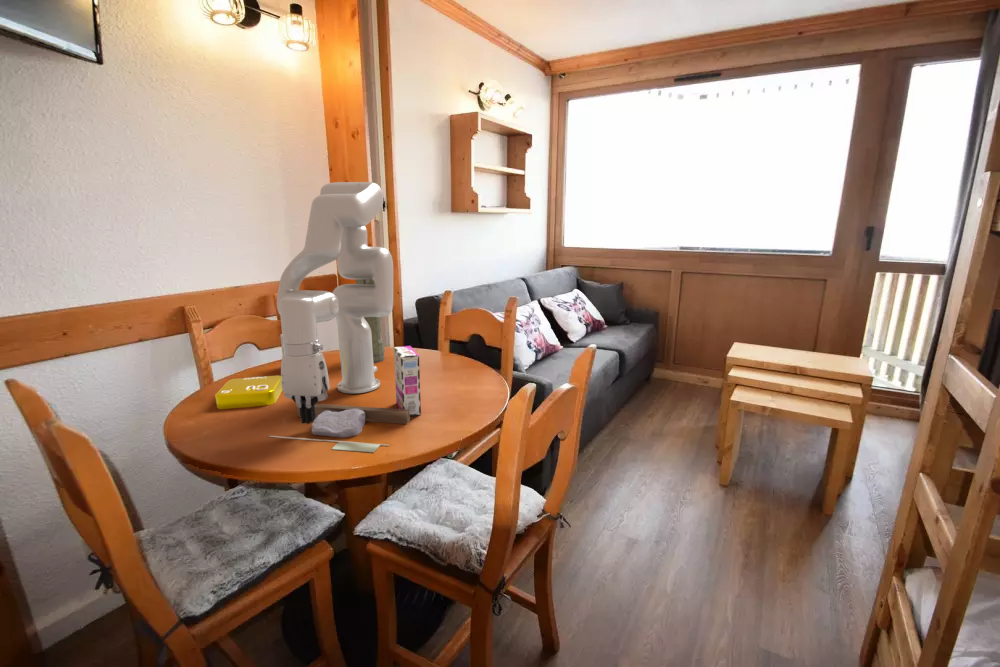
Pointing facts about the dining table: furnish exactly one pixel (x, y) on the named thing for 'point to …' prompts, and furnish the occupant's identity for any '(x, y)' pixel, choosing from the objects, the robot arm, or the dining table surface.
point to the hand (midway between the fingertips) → (308, 421)
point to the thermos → (375, 331)
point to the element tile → (249, 392)
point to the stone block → (339, 423)
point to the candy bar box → (407, 379)
